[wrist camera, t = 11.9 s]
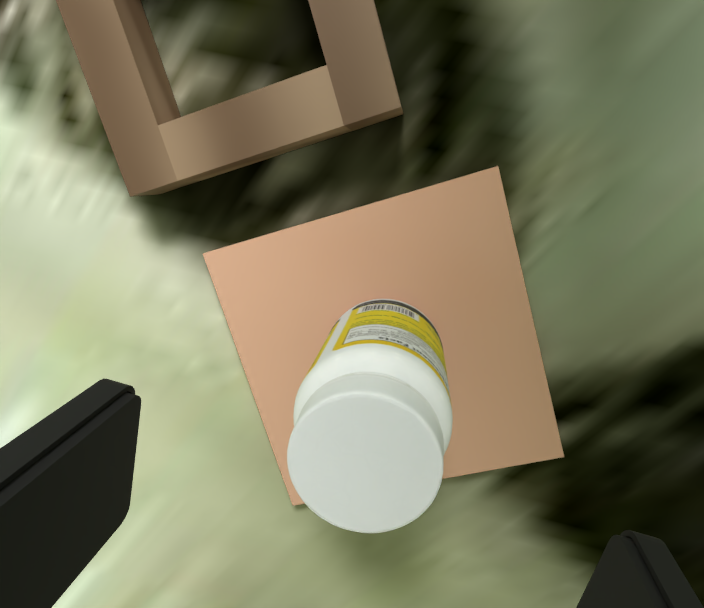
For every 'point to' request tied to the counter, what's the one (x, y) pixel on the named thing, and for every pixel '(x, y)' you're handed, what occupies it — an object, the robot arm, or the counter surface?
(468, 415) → the terracotta coaster
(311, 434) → the supplement bottle
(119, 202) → the counter surface
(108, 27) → the walnut cup holder
